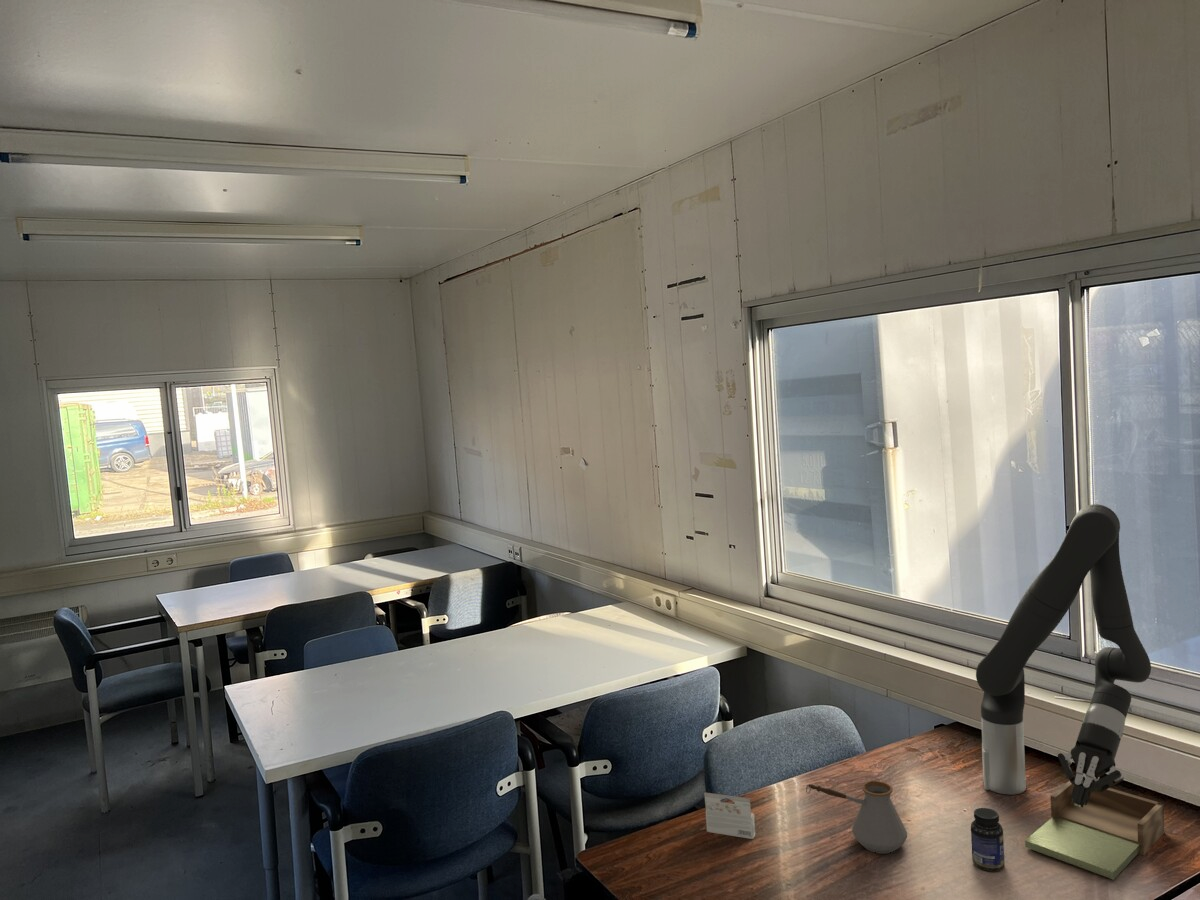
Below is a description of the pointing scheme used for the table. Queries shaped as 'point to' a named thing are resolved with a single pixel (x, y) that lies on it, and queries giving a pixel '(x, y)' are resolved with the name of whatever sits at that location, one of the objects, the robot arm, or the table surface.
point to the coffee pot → (875, 817)
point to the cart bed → (1114, 814)
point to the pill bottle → (987, 840)
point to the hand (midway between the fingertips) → (1077, 805)
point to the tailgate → (1083, 846)
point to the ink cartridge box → (729, 816)
